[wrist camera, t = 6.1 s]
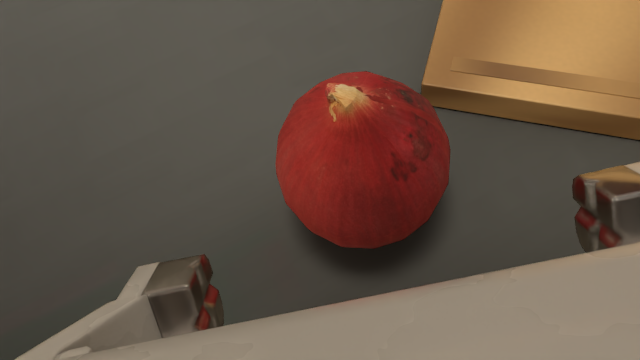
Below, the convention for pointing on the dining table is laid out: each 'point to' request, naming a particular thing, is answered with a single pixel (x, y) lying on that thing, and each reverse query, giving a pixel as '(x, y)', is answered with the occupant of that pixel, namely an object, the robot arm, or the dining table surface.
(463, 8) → the cutting board
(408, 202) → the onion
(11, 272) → the dining table surface
